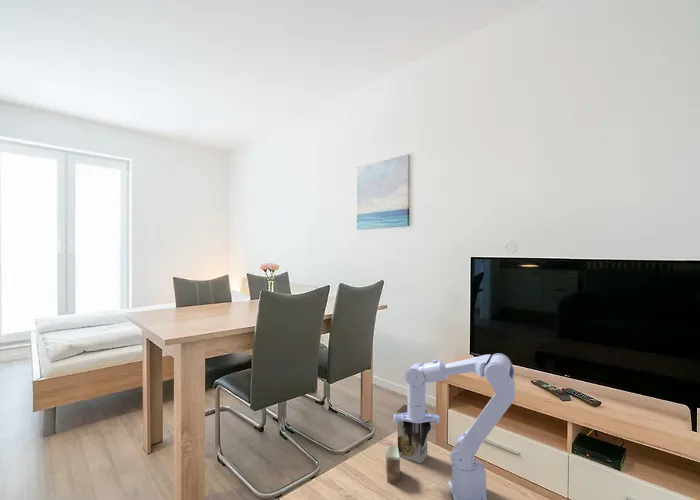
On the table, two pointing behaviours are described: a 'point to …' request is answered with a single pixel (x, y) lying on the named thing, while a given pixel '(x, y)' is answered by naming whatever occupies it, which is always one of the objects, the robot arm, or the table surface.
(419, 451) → the coffee box
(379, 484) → the table surface
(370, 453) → the table surface
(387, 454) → the wooden block
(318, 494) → the table surface
